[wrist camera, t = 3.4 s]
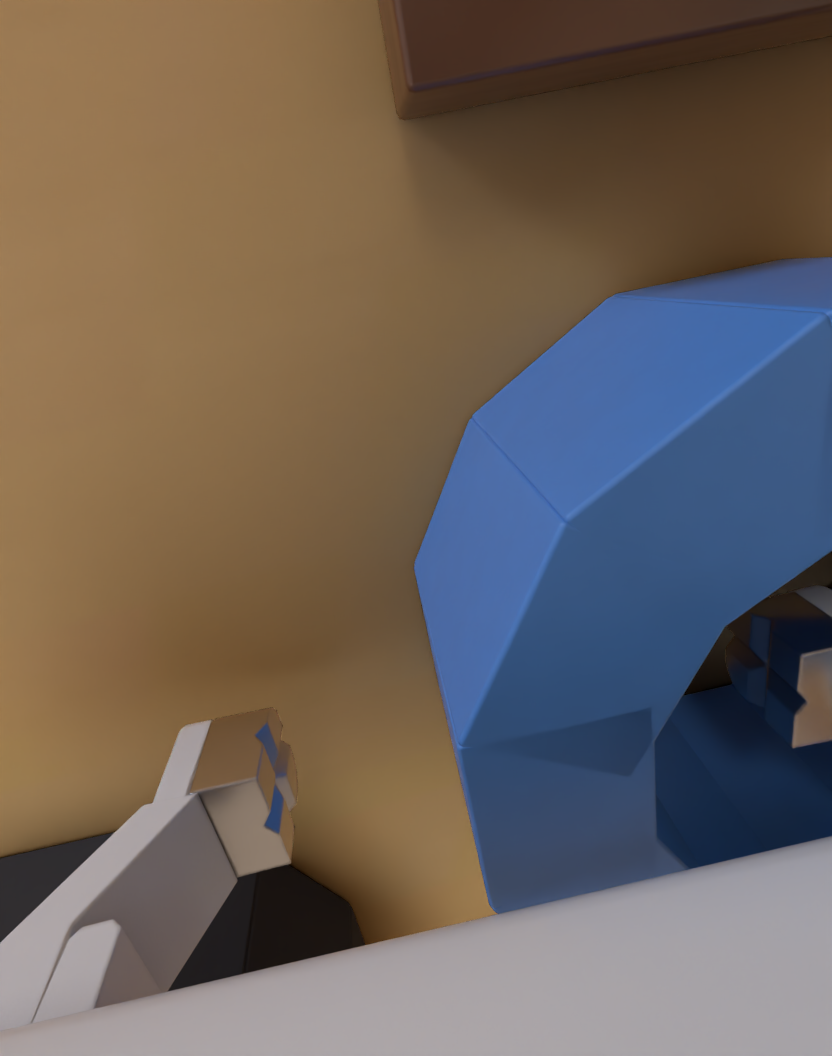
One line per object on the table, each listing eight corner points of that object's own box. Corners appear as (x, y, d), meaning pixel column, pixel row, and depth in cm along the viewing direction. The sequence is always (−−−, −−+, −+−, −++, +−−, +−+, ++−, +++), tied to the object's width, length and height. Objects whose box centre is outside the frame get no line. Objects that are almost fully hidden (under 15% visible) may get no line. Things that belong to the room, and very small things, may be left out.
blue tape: (366, 345, 10) (384, 403, 5) (1018, 209, 10) (1556, 155, 5) (467, 821, 14) (523, 1067, 10) (911, 717, 14) (1160, 911, 10)
